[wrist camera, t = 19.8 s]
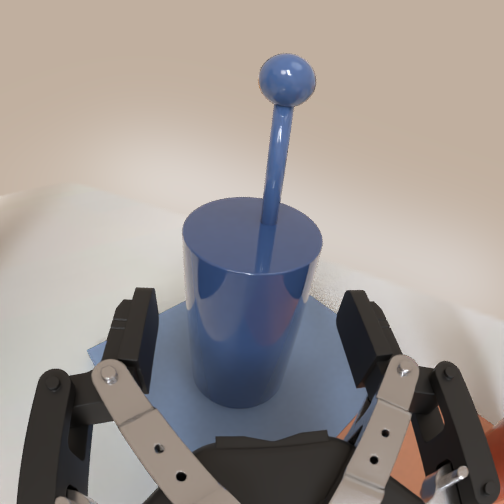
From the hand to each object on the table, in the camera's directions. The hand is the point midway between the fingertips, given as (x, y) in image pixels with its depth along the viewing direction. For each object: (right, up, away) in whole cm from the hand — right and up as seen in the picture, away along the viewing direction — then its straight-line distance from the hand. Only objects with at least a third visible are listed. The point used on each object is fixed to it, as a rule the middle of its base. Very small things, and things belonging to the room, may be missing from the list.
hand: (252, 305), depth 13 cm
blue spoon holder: (-1, -5, +5) cm, 7 cm away
